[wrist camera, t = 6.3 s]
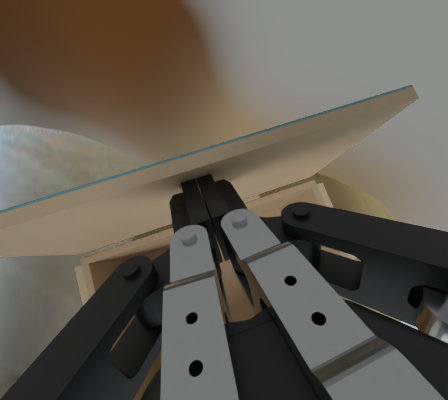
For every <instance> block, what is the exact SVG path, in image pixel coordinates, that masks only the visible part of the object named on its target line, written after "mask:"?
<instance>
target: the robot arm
mask: <svg viewBox="0 0 448 400" xmlns="http://www.w3.org/2000/svg"><path fill="white" fill-rule="evenodd" d="M196 179H197V182H196V180H195V179H192V180H189V181H186V182H183V183H181V187H182V191H183V192H181V193H178V194H175V195H173V196H172V198H171V200H170V202H169V204H170V211H171V217H172V224H173V231H174V235H173V236H172V238H171V240H170V248H169V249H168V250H167V251H166V252H164V253H163V254H162V255H160V256H158V257H157V258H155V259H154V260H152V261H151V260H150V259H149V258H148V257H146V256H136V257H132V258H130V259H128V260H126V261H124V262H123V263H122V264H120V265H119V266H118V267H117V268H116V269H115V270H114V272H113V273H112V274H111V275H110V276H109V277H108V278H107V279H106V281H105V282H104V283H103V284H102V285H101V286H100V287H99V289H98V290H97V291H96V292H95V293H94V294H93V295H92V296H91V298H90V299H89V300H88V301H87V302H86V303H85V304H84V305H83V307H82V308H81V309H80V310H79V311H78V312H77V313H76V315H75V316H74V317H73V318H72V319H71V320H70V321H69V322H68V324H67V325H66V326H65V327H64V328H63V329H62V330H61V332H60V333H59V334H58V335H57V336H56V337H55V338H54V339H53V341H52V342H51V343H50V344H49V345H48V346H47V347H46V348H45V350H44V351H43V352H42V353H41V354H40V355H39V356H38V358H37V359H36V360H35V361H34V362H33V363H32V364H31V365H30V367H29V368H28V369H27V370H26V371H25V372H24V373H23V375H22V376H21V377H20V378H19V379H18V380H17V381H16V382H15V384H14V385H13V386H12V387H11V388H10V389H9V390H8V392H7V393H6V394H5V395H4V396H3V397H2V398H1V399H0V400H134V398H135V396H136V394H137V392H138V391H139V389H140V387H141V385H142V383H143V381H144V380H145V378H146V376H147V374H148V372H149V371H150V369H151V367H152V365H153V363H154V361H155V360H156V358H157V356H158V354H159V352H160V350H161V349H162V354H161V367H160V368H159V370H158V371H157V372H156V374H155V375H154V376H153V378H152V380H151V381H150V383H149V384H148V386H147V388H146V390H145V392H144V394H143V396H142V398H141V400H448V232H445V231H440V230H436V229H431V228H426V227H422V226H417V225H412V224H407V223H403V222H398V221H393V220H388V219H384V218H379V217H374V216H369V215H365V214H360V213H355V212H350V211H346V210H341V209H336V208H331V207H327V206H322V205H317V204H312V203H307V202H296V203H292V204H289V205H287V206H286V207H284V209H283V210H282V212H281V216H277V217H259V216H258V215H257V214H256V213H255V212H254V211H252V210H249V209H247V207H246V205H245V204H244V202H243V201H242V199H241V198H240V196H239V195H238V194H237V191H236V190H235V189H234V187H233V185H232V184H231V182H229V181H227V180H225V179H222V180H219V181H216V182H215V181H214V179H213V177H212V175H211V174H208V175H205V176H202V177H199V178H196ZM197 183H198V185H197ZM198 186H199V188H198ZM199 189H200V190H199ZM200 192H201V193H200ZM217 241H218V243H217ZM218 244H219V246H218ZM321 246H325V247H328V248H331V249H334V250H338V251H341V252H344V253H348V254H351V255H354V256H356V257H357V258H359V259H360V260H361V261H362V262H360V261H356V260H353V259H350V258H347V257H343V256H340V255H337V254H334V253H331V252H328V251H324V250H321ZM219 247H220V249H221V252H222V255H223V257H224V260H225V261H227V260H230V261H231V263H232V266H233V269H234V273H235V276H236V278H237V280H238V282H239V284H240V286H241V288H242V290H243V292H244V294H245V296H246V298H247V300H248V302H249V304H250V306H251V308H252V310H253V312H254V314H255V316H254V317H252V318H251V319H249V320H245V321H238V322H233V321H232V317H231V313H230V308H229V304H228V300H227V296H226V291H225V287H224V283H223V279H222V270H221V267H220V264H219V263H222V262H223V259H222V256H221V252H220V249H219ZM340 296H342V297H344V298H347V299H349V300H352V301H354V302H352V301H349V300H345V299H342V298H341V297H340ZM355 302H356V303H355ZM357 303H359V304H357ZM360 304H361V305H360ZM362 305H364V306H366V307H364V306H362ZM367 307H369V308H371V309H374V310H376V311H379V312H381V313H384V314H386V315H389V316H391V317H393V318H396V319H398V320H401V321H403V322H406V323H408V324H411V325H413V326H416V327H417V328H418V330H416V329H414V328H412V327H410V326H408V325H405V324H403V323H401V322H398V321H396V320H394V319H392V318H389V317H387V316H385V315H382V314H380V313H378V312H376V311H373V310H371V309H369V308H367ZM133 316H135V317H134V319H133V320H132V322H131V323H130V325H129V326H128V327H127V329H126V330H125V332H124V333H123V335H122V336H121V338H120V339H119V341H118V342H117V343H116V345H115V346H114V348H113V349H112V347H113V345H114V343H115V342H116V340H117V339H118V337H119V336H120V335H121V333H122V332H123V330H124V329H125V327H126V326H127V324H128V323H129V322H130V320H131V319H132V317H133ZM111 349H112V351H111Z"/></svg>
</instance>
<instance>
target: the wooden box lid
mask: <svg viewBox="0 0 448 400" xmlns="http://www.w3.org/2000/svg"><path fill="white" fill-rule="evenodd" d="M418 98H419V97H418V96H417V94H416V92H415V90H414V88H413V86H412V85H410V86H406V87H403V88H400V89H396V90H393V91H390V92H387V93H383V94H380V95H377V96H374V97H370V98H367V99H364V100H361V101H357V102H354V103H351V104H347V105H344V106H341V107H338V108H334V109H331V110H328V111H324V112H321V113H318V114H315V115H312V116H308V117H305V118H302V119H298V120H296V121H292V122H289V123H285V124H282V125H279V126H276V127H272V128H269V129H266V130H263V131H259V132H256V133H253V134H249V135H246V136H243V137H240V138H237V139H233V140H230V141H227V142H223V143H220V144H217V145H214V146H210V147H207V148H204V149H200V150H197V151H194V152H191V153H187V154H184V155H181V156H178V157H174V158H171V159H168V160H165V161H162V162H158V163H155V164H152V165H148V166H145V167H142V168H138V169H135V170H132V171H129V172H125V173H122V174H119V175H116V176H112V177H109V178H106V179H103V180H99V181H96V182H93V183H89V184H86V185H83V186H80V187H76V188H73V189H70V190H67V191H63V192H60V193H57V194H54V195H50V196H47V197H44V198H40V199H37V200H34V201H31V202H27V203H24V204H21V205H18V206H14V207H11V208H8V209H5V210H1V211H0V257H19V256H45V255H70V254H83V253H86V252H89V251H92V250H95V249H98V248H101V247H104V246H107V245H110V244H113V243H116V242H119V241H122V240H125V239H128V238H130V237H133V236H136V235H139V234H142V233H145V232H148V231H151V230H154V229H157V228H160V227H163V226H166V225H169V224H172V217H171V211H170V204H169V202H170V200H171V198H172V196H173V195H175V194H178V193H181V192H183V191H182V187H181V183H183V182H186V181H189V180H192V179H195V180H196V182H197V179H196V178H199V177H202V176H205V175H208V174H211V175H212V177H213V179H214V181H215V182H216V181H219V180H222V179H225V180H227V181H229V182H231V184H232V185H233V187H234V189H235V190H236V191H237V194H238V195H239V196H240V198H241V199H242V200H243V199H246V198H249V197H252V196H255V195H258V194H261V193H264V192H267V191H270V190H273V189H276V188H279V187H282V186H285V185H288V184H291V183H294V182H297V181H300V180H303V179H306V178H309V177H311V176H313V175H314V174H316V173H317V172H318V171H320V170H321V169H322V168H324V167H325V166H326V165H328V164H329V163H331V162H332V161H333V160H335V159H336V158H337V157H339V156H340V155H342V154H343V153H344V152H345V151H347V150H348V149H350V148H351V147H353V146H354V145H355V144H357V143H358V142H359V141H361V140H362V139H364V138H365V137H366V136H368V135H369V134H370V133H372V132H373V131H374V130H376V129H377V128H379V127H380V126H381V125H382V124H384V123H385V122H387V121H388V120H390V119H391V118H392V117H394V116H395V115H396V114H398V113H399V112H401V111H402V110H403V109H405V108H406V107H407V106H409V105H410V104H412V103H413V102H414V101H416V100H417V99H418ZM197 185H198V183H197ZM198 188H199V186H198ZM199 190H200V189H199ZM200 193H201V192H200Z"/></svg>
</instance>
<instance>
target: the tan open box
mask: <svg viewBox="0 0 448 400" xmlns="http://www.w3.org/2000/svg"><path fill="white" fill-rule="evenodd" d="M296 202H307V203H312V204H317V205H322V206H327V207H331V208H334V207H333V205H332V203H331V200H330V198H329V196H328V194H327V191H326V189H325V187H324V185H323V182H322V183H319V184H316V181H315V179H314V180H312V181H309V182H306V183H303V184H300V185H297V186H294V187H291V188H288V189H285V190H282V191H279V192H276V193H273V194H270V195H267V196H264V197H261V198H259V199H256V200H253V201H250V202H247V203H244V204H245V205H246V207H247V209H249V210H252V211H254V212H255V213H256V214H257V215H258V216H259V217H277V216H281V212H282V210H283V209H284V207H286V206H287V205H289V204H292V203H296ZM173 235H174V231H173V228H170V229H167V230H164V231H161V232H158V233H155V234H152V235H149V236H146V237H143V238H140V239H137V240H134V241H132V242H129V243H126V244H123V245H120V246H117V247H114V248H111V249H108V250H105V251H102V252H99V253H96V254H93V255H90V256H87V257H84V258H81V259H80V262H81V265H79V266H76V267H74V270H75V274H76V278H77V283H78V287H79V292H80V296H81V301H82V305H84V304H85V303H86V302H87V301H88V300H89V299H90V298H91V296H92V295H93V294H94V293H95V292H96V291H97V290H98V289H99V287H100V286H101V285H102V284H103V283H104V282H105V281H106V279H107V278H108V277H109V276H110V275H111V274H112V273H113V272H114V270H115V269H116V268H117V267H118V266H119V265H120V264H122V263H123V262H124V261H126V260H128V259H130V258H132V257H136V256H146V257H148V258H149V259H150V260H151V261H152V260H154V259H155V258H157V257H158V256H160V255H162V254H163V253H164V252H166V251H167V250H168V249H169V248H170V240H171V238H172V236H173ZM217 243H218V241H217ZM218 246H219V244H218ZM219 249H220V247H219ZM321 250H324V251H328V252H331V253H334V254H337V255H340V256H343V257H347V258H350V259H353V260H356V261H357V259H356V257H355V256H354V255H351V254H348V253H344V252H341V251H338V250H334V249H331V248H328V247H325V246H321ZM220 252H221V249H220ZM221 256H222V259H223V262H222V263H219V264H220V267H221V270H222V279H223V283H224V287H225V291H226V296H227V300H228V304H229V308H230V313H231V317H232V321H233V322H238V321H245V320H249V319H251V318H252V317H254V316H255V314H254V312H253V310H252V308H251V306H250V304H249V302H248V300H247V298H246V296H245V294H244V292H243V290H242V288H241V286H240V284H239V282H238V280H237V278H236V276H235V273H234V269H233V266H232V263H231V261H230V260H227V261H225V260H224V257H223V255H222V252H221ZM340 297H341V298H342V299H345V300H349V299H347V298H344V297H342V296H340ZM349 301H352V300H349ZM352 302H354V301H352ZM355 303H356V302H355ZM357 304H359V303H357ZM360 305H361V304H360ZM362 306H364V305H362ZM364 307H366V306H364ZM367 308H369V307H367ZM369 309H371V308H369ZM371 310H373V311H376V310H374V309H371ZM376 312H378V313H380V312H379V311H376ZM134 317H135V316H133V317H132V319H131V320H130V322H129V323H128V324H127V326H126V327H125V329H124V330H123V332H122V333H121V335H120V336H119V337H118V339H117V340H116V342H115V343H114V345H113V347H112V349H113V348H114V346H115V345H116V343H117V342H118V341H119V339H120V338H121V336H122V335H123V333H124V332H125V330H126V329H127V327H128V326H129V325H130V323H131V322H132V320H133V319H134ZM112 349H111V351H112ZM161 354H162V349H161V350H160V352H159V354H158V356H157V358H156V360H155V361H154V363H153V365H152V367H151V369H150V371H149V372H148V374H147V376H146V378H145V380H144V381H143V383H142V385H141V387H140V389H139V391H138V392H137V394H136V396H135V398H134V400H141V398H142V396H143V394H144V392H145V390H146V388H147V386H148V384H149V383H150V381H151V380H152V378H153V376H154V375H155V374H156V372H157V371H158V370H159V368H160V367H161Z"/></svg>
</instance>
